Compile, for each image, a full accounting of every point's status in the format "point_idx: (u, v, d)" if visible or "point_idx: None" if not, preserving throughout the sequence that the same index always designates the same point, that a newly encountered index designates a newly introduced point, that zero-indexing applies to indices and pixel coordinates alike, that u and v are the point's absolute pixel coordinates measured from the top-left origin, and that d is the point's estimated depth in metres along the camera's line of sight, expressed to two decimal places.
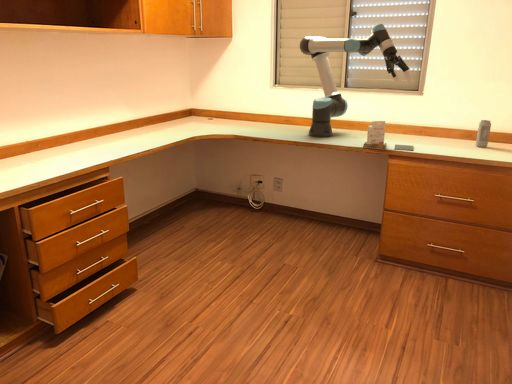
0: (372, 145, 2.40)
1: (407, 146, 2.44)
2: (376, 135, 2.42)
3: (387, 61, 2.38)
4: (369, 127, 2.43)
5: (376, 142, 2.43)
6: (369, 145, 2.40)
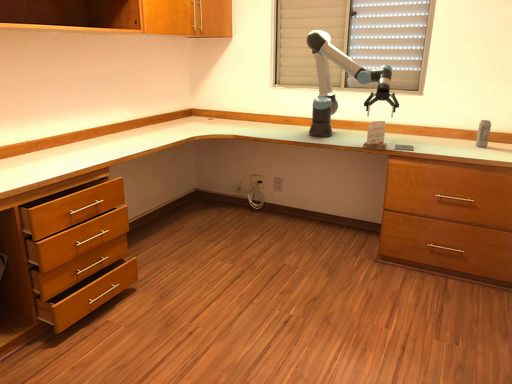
0: (372, 145, 2.40)
1: (407, 146, 2.44)
2: (376, 134, 2.42)
3: None
4: (369, 127, 2.43)
5: (376, 142, 2.43)
6: (369, 145, 2.40)
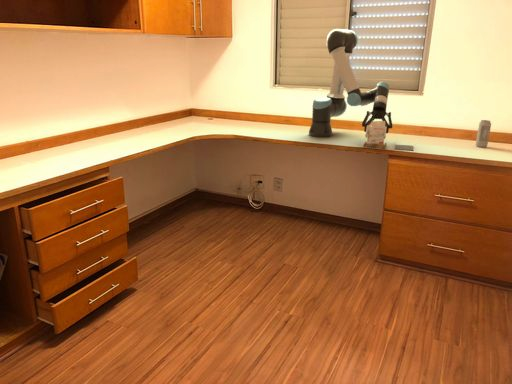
0: (372, 145, 2.40)
1: (407, 146, 2.44)
2: (376, 134, 2.42)
3: (390, 118, 2.45)
4: (369, 127, 2.42)
5: (376, 142, 2.43)
6: (369, 145, 2.40)
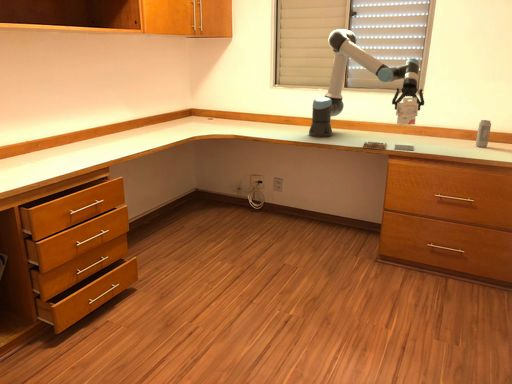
0: (372, 145, 2.40)
1: (407, 146, 2.44)
2: (408, 112, 2.33)
3: None
4: (400, 104, 2.34)
5: (407, 120, 2.35)
6: (369, 145, 2.40)
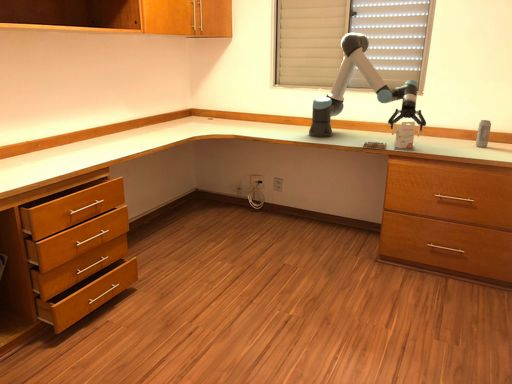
0: (372, 145, 2.40)
1: None
2: (406, 135, 2.37)
3: None
4: (398, 128, 2.38)
5: (405, 144, 2.39)
6: (369, 145, 2.40)
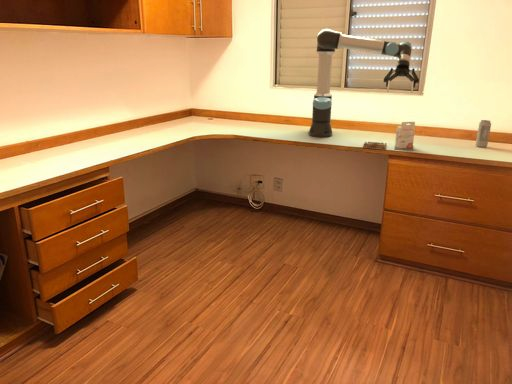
0: (372, 145, 2.40)
1: None
2: (406, 135, 2.37)
3: None
4: (398, 128, 2.38)
5: (405, 144, 2.39)
6: (369, 145, 2.40)
